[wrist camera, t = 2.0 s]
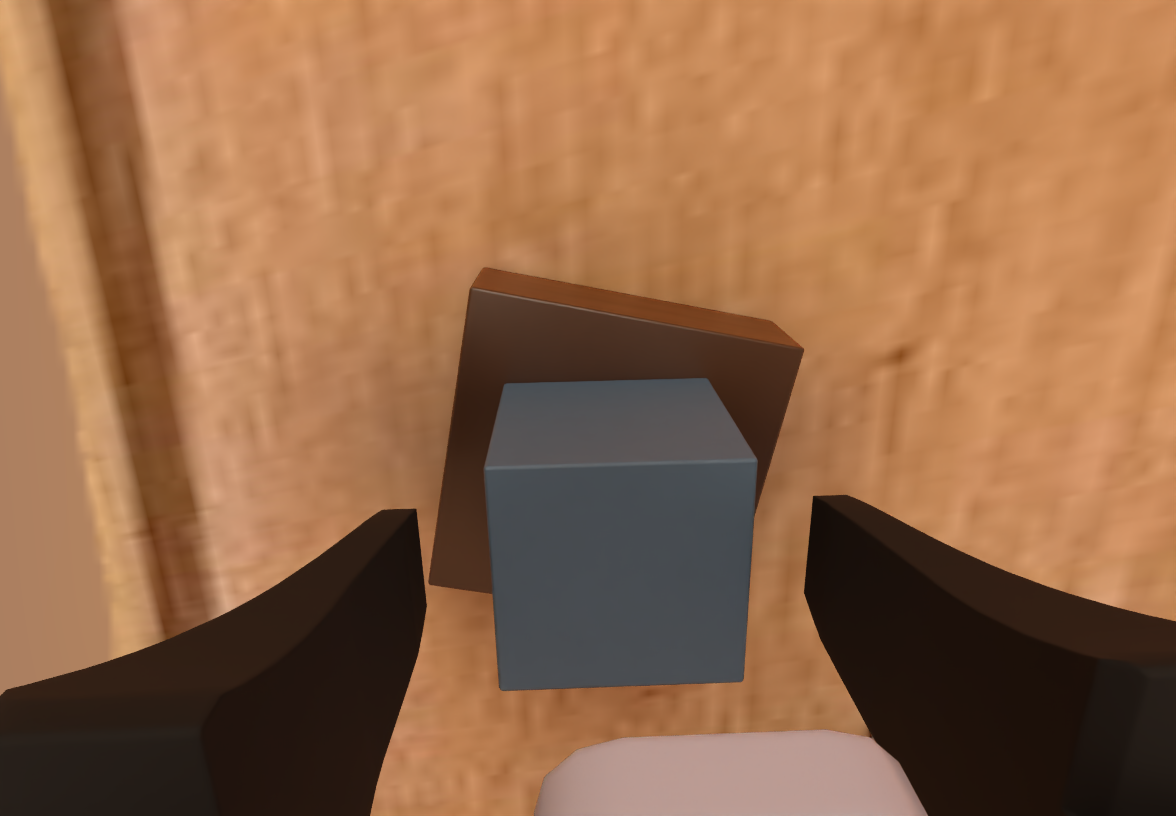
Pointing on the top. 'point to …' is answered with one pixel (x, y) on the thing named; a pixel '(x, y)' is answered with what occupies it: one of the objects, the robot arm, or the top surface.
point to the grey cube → (618, 534)
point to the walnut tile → (591, 353)
